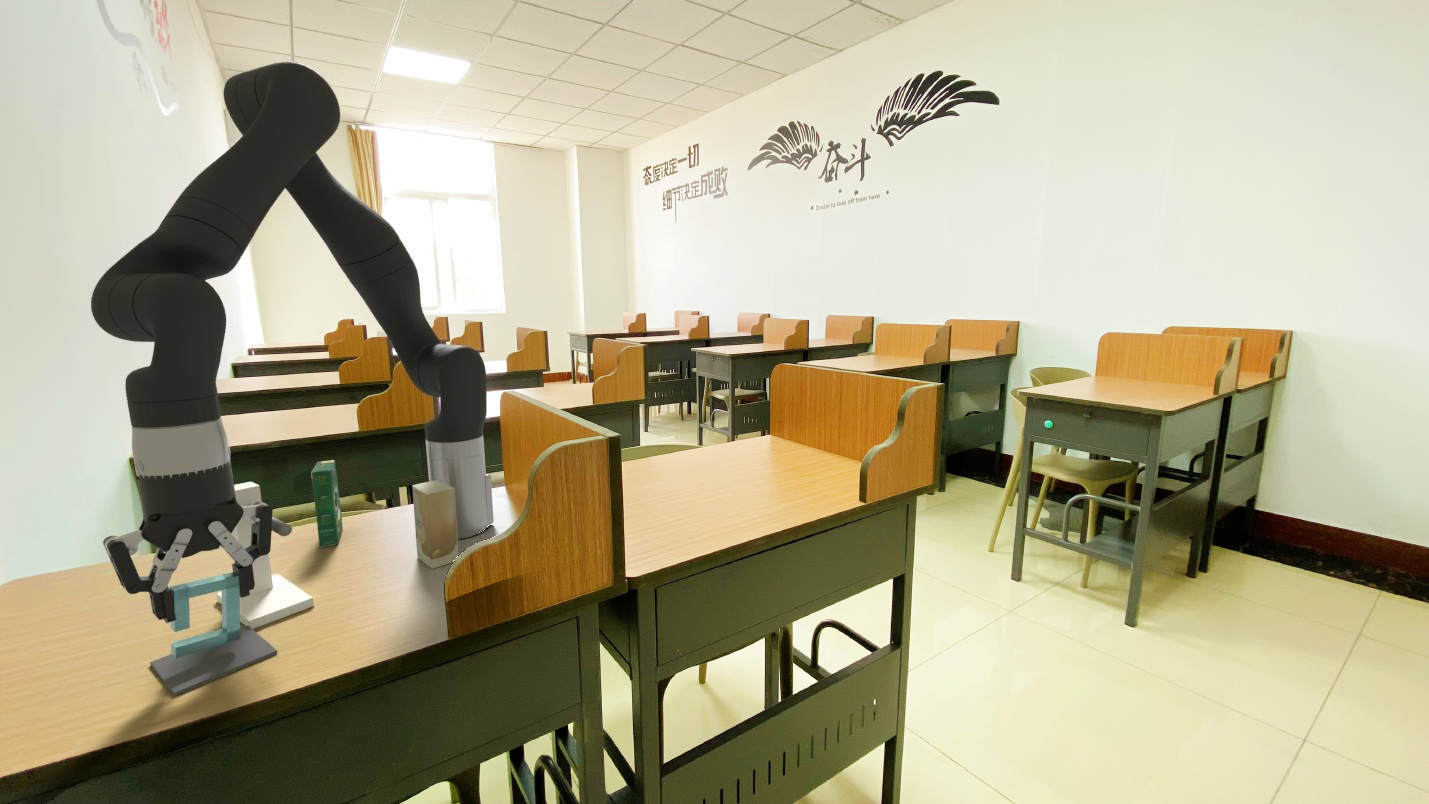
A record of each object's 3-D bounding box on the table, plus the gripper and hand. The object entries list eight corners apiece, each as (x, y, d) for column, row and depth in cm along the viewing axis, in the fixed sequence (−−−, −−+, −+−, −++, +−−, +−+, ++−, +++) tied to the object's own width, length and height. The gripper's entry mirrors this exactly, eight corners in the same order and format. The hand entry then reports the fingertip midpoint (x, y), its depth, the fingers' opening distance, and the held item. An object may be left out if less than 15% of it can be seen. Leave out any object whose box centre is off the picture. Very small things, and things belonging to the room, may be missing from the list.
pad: (248, 628, 72) (248, 625, 72) (277, 653, 67) (276, 650, 67) (150, 665, 64) (150, 661, 64) (174, 696, 59) (173, 692, 59)
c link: (235, 634, 68) (234, 572, 67) (240, 638, 67) (239, 575, 66) (171, 653, 63) (169, 586, 62) (175, 658, 62) (174, 590, 61)
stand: (278, 581, 84) (264, 476, 81) (328, 616, 75) (315, 498, 72) (217, 601, 78) (200, 488, 75) (264, 641, 69) (246, 515, 66)
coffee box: (324, 531, 102) (316, 460, 100) (343, 528, 103) (336, 458, 101) (318, 548, 95) (309, 472, 93) (338, 545, 96) (330, 469, 94)
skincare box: (416, 557, 92) (409, 484, 90) (443, 549, 95) (438, 478, 93) (432, 570, 88) (426, 493, 86) (460, 561, 91) (455, 487, 89)
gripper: (253, 444, 70) (270, 573, 72) (79, 472, 58) (108, 625, 61) (277, 453, 65) (295, 590, 68) (95, 486, 54) (126, 649, 57)
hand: (207, 606), depth 64 cm, fingers closed on c link, 6 cm apart
